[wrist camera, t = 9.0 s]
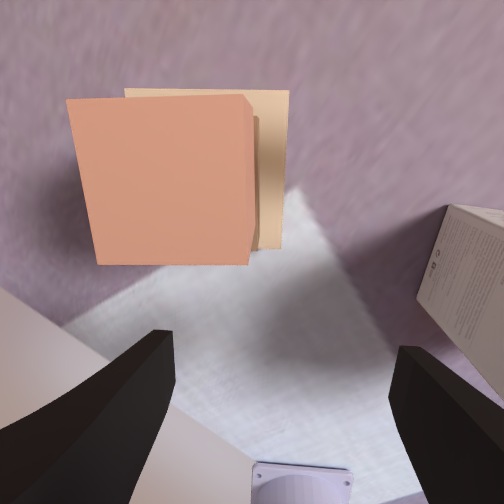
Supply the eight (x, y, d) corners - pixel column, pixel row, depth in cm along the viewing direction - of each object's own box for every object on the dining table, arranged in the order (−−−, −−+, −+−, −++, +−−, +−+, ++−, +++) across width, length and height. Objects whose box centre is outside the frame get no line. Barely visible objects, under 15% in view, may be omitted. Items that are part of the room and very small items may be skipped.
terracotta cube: (255, 225, 15) (247, 265, 11) (150, 225, 16) (97, 264, 11) (253, 108, 14) (243, 93, 9) (135, 111, 14) (66, 99, 9)
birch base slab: (280, 235, 21) (281, 249, 18) (155, 231, 21) (140, 243, 19) (287, 95, 18) (289, 90, 15) (143, 93, 18) (124, 88, 16)
